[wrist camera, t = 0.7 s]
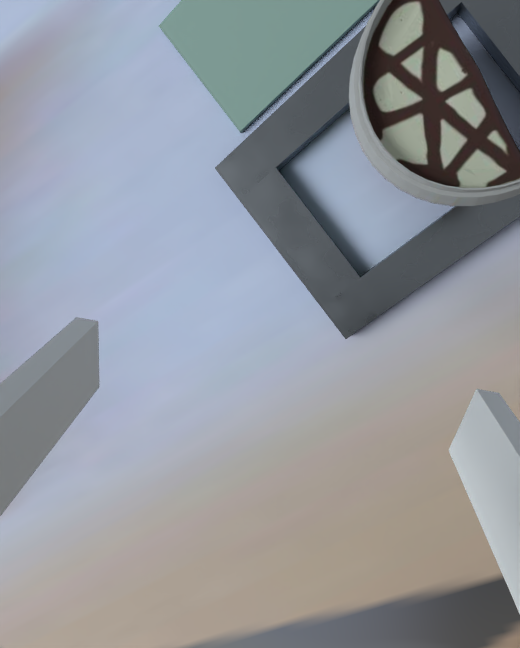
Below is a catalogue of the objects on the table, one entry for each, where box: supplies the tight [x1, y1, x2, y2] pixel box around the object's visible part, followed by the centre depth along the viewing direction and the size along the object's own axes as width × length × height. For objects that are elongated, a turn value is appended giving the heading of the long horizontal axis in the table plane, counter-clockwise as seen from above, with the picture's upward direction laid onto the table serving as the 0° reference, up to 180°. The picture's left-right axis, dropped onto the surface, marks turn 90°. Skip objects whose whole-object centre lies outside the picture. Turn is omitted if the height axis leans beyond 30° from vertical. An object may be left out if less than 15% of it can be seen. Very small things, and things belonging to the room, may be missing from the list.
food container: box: [349, 0, 520, 206], centre depth 25 cm, size 12×6×10 cm, turn 30°
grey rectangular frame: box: [215, 0, 520, 339], centre depth 29 cm, size 16×22×1 cm
